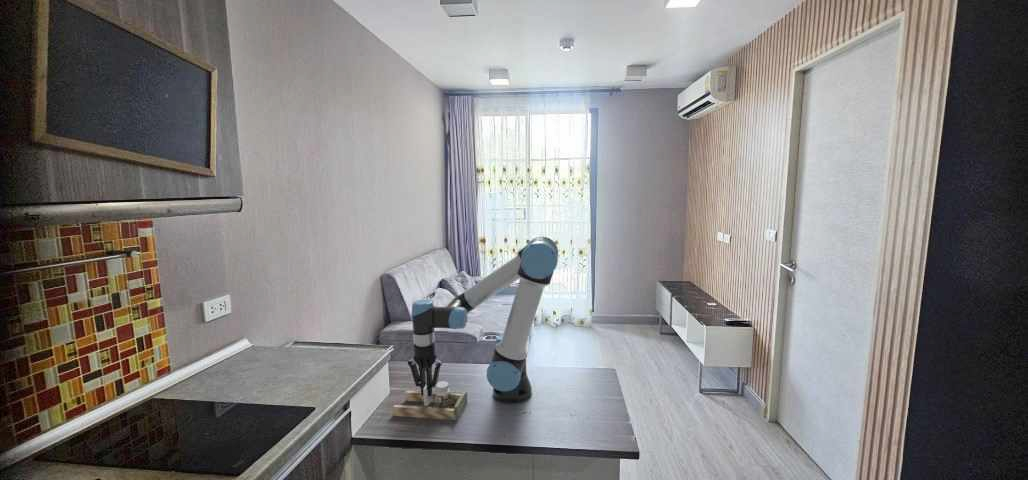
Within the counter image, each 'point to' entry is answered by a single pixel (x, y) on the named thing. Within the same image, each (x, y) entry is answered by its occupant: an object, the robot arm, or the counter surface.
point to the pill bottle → (442, 395)
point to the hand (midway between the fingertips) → (427, 403)
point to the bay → (432, 412)
